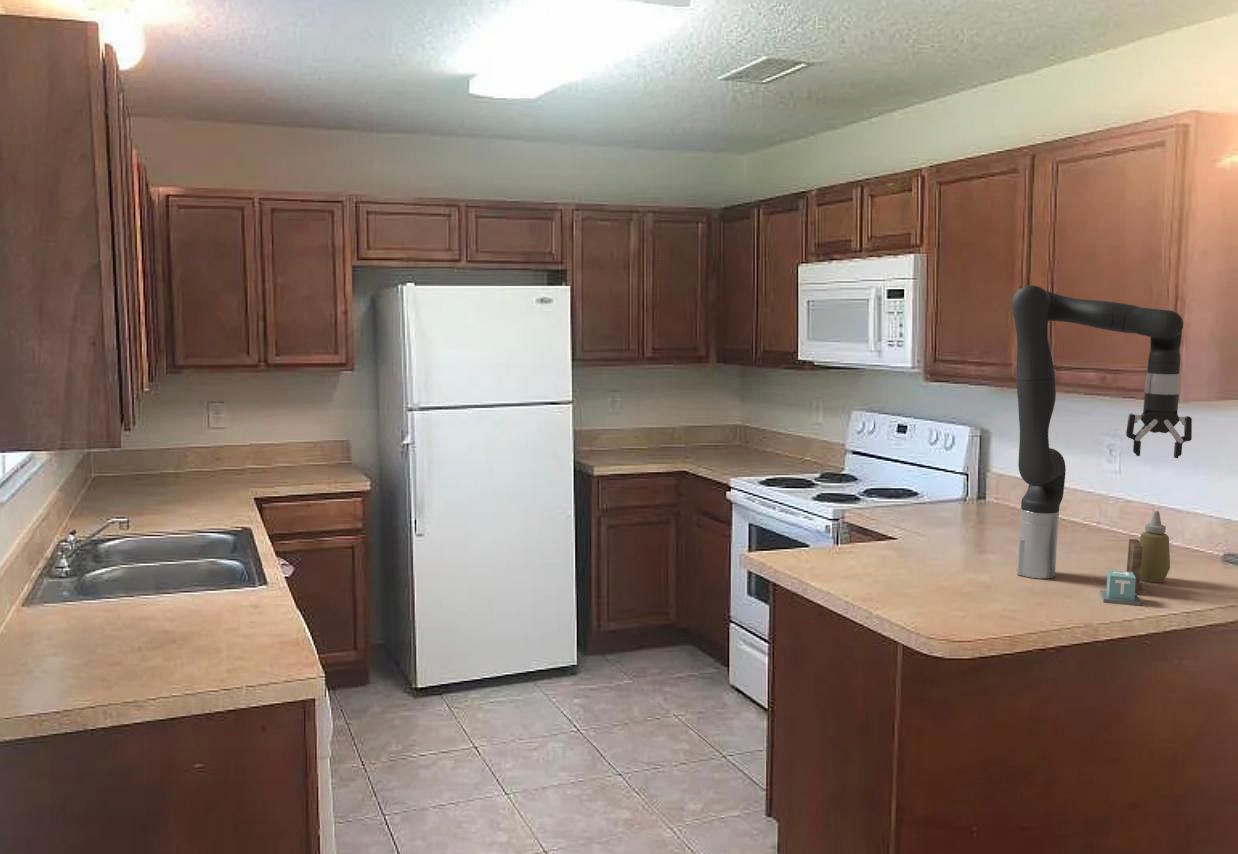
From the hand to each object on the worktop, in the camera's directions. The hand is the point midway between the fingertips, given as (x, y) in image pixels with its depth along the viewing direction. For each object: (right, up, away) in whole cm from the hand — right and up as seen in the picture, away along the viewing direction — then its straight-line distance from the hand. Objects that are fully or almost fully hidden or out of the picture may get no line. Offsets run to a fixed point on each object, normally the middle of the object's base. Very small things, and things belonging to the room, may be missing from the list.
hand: (1156, 456), depth 257 cm
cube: (-13, -33, -7) cm, 37 cm away
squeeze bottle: (+4, -32, +10) cm, 34 cm away
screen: (-6, -33, +1) cm, 34 cm away
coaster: (-13, -34, -7) cm, 37 cm away
